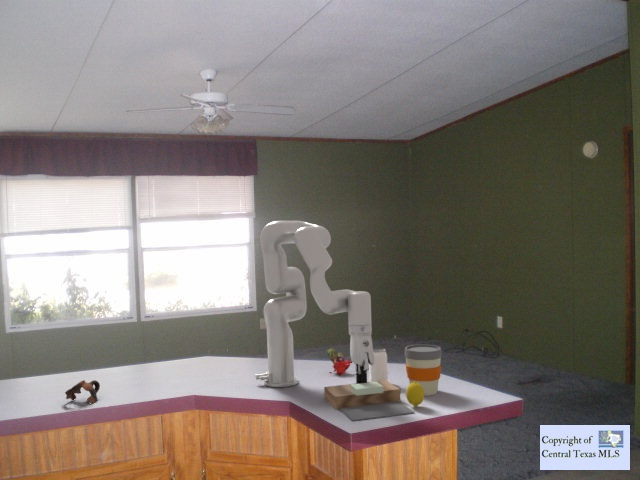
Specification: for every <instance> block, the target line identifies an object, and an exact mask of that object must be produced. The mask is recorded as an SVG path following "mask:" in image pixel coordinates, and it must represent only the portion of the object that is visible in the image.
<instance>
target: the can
mask: <svg viewBox="0 0 640 480" xmlns="http://www.w3.org/2000/svg"><path fill="white" fill-rule="evenodd" d="M373 356H374V364H373V365H370V364H369V363H368V365H369V382H373V381H382V380H386V381H388V379H389V377H388V374H389V371H388V354H387V352H386V349H385V348H373ZM388 382H389V381H388Z"/></svg>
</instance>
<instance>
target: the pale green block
mask: <svg viewBox="0 0 640 480" xmlns="http://www.w3.org/2000/svg"><path fill="white" fill-rule="evenodd" d="M368 382H369V383H360V384H355V383H350V384H351V385H350V391H351V392H353V393H354V394H355V395H356V396H358V395H367V394H376V393H383V386H382V385H380V384H379V383H377V382H370V381H368Z"/></svg>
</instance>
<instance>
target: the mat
mask: <svg viewBox="0 0 640 480" xmlns="http://www.w3.org/2000/svg"><path fill="white" fill-rule="evenodd" d="M338 410H339V411H340V412H341V413H342V414H343V415H345V417H347V418H348V419H349V420H350V421H351V422H357V421H358V422H359V421H366V420H367V421H368V420H375V419H379V418H380V419H381V418H389V417H390V418H391V417H397V416H403V415H410V414H411V415H412V414H415V413H416V412H415V411H414V410H413V409H410V408H409V407H408V406H406V405H405V404H404V403H402V402H401V401H400V402H399V401H394V402H386V403H378V404H369V405H361V406H353V407H345V408H339V409H338Z"/></svg>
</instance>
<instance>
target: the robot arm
mask: <svg viewBox="0 0 640 480" xmlns="http://www.w3.org/2000/svg"><path fill="white" fill-rule="evenodd" d="M259 238H260V239H259V242H260V248H261V252H262V257H263V269H264V270H263V271H264V272H263V273H264V280H265V281H264V282H265V288H266V290H267V291H268V293H269V294H271V295H281V294H285V296H278V297H274V298H271V299H269V300H268V301H266V302H265V304H264V306H263V318H264V321H265V328H266V343H267V344H266V345H267V348H266V349H267V370H265V372H263V373H258V374H257V373H256V374H254V375H255V380H256V381H257V380H260V381H264V382H263V383H264V385H265V386H266V387H271V388H286V387H287V388H288V387H292V386H295V385H297V384H298V383H299V377H296V376H295V365H294V364H295V362H294V361H295V359H294V356H295V355H294V335H293V331H292V328H291V327H290V324H289V322H295V321H299V320H301V319H302V318H304V317H305V316H306V313H307V309H308V306H307V302H308V301H307V293H306V292H307V291H306V281H305V276H304V274H303V272H302V271H301V270H300V269H299V268H298V267H296V266H288V262H287V254H286V252H285V250H284V248H283V247H282V245H288V244H289V245H290V244H295V246H296V248H297V250H298V251H299V253H300V255H301V256H302V259H303V261H304V262H305V263H306V266H307V268H308V269H309V272H310V276H309V287H310V288H309V289H310V293H311V295H312V297H313V299H314V300H315V303H316V304H317V306H318V307H319V309H320V310H321V312H323V313H324V314H326V315H331V316H332V315H336V314H340V313H348V314H347V317H348V319H347V320H348V322H347V323H348V335H349V336H350V338H349V339H350V341H349V342H350V343H349V355H350V359H351V360H350V361H352V363H353V365H355V366H354V367H355V383H356V384H360V383H367V382H368V371H370V367H369V364H370V365H373V364H374V356H373V349H374V346H373V338H372V334H373V333H372V331H373V329H372V299H371V298H372V297H371V294H370V293H369V292H368V291H365V290H364V291H363V290H362V291H361V290H358V291H357V290H351V289H347V288H346V289H337V290H331V288H330V287H329V285H328V283H327V280H326V275H325V274H326V271H327V270H329V268H330V267H331V266H332V264H333V259H332V257H331V256H330V253H329V251H328V250H327V248H328V247H329V246H330V245H331V241H332V237H331V234H330V232H329V230H328V229H327V228H325V226H322V225H318V224H314V223H311V222H307V221H303V220H275V221H271V222H269V223H267V224H266V225H264V227H263V229H262V230H261V232H260V236H259Z"/></svg>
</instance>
